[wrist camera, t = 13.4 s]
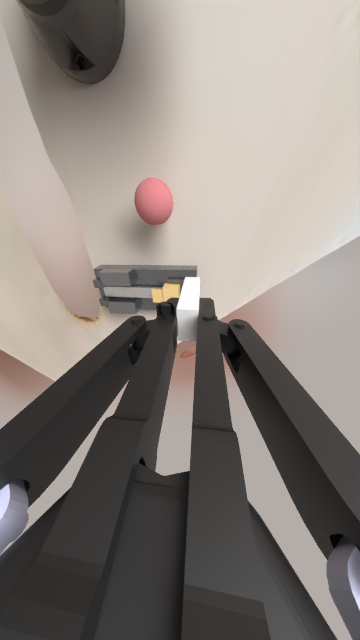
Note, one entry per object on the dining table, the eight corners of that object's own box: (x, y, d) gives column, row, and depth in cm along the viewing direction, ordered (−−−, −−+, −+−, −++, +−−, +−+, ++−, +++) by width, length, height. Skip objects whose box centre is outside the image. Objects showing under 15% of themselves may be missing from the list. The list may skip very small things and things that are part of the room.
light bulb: (144, 215, 39) (125, 215, 29) (153, 178, 35) (133, 165, 25) (172, 227, 40) (162, 232, 30) (183, 193, 36) (175, 186, 26)
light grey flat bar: (107, 294, 47) (105, 296, 47) (104, 285, 46) (102, 286, 45) (165, 297, 45) (164, 298, 44) (164, 286, 44) (163, 288, 43)
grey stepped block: (111, 301, 54) (100, 312, 48) (101, 265, 47) (87, 272, 41) (195, 304, 51) (194, 316, 45) (197, 265, 44) (196, 273, 38)
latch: (156, 299, 46) (153, 305, 43) (154, 282, 44) (150, 287, 41) (180, 300, 46) (178, 306, 43) (179, 283, 43) (178, 288, 40)
